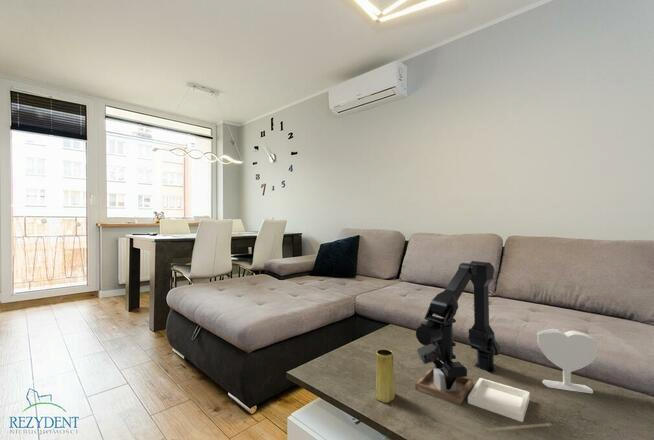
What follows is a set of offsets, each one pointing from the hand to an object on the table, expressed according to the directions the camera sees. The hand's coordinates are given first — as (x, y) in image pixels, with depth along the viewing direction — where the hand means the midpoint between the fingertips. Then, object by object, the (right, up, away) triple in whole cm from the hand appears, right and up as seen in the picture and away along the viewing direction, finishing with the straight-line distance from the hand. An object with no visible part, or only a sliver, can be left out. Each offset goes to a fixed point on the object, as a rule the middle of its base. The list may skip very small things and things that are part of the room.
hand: (444, 384), depth 101 cm
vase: (-20, -2, -4) cm, 21 cm away
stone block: (0, -1, 0) cm, 1 cm away
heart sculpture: (+40, -1, 0) cm, 40 cm away
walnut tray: (0, -1, 0) cm, 1 cm away
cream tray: (+14, -1, -8) cm, 16 cm away
